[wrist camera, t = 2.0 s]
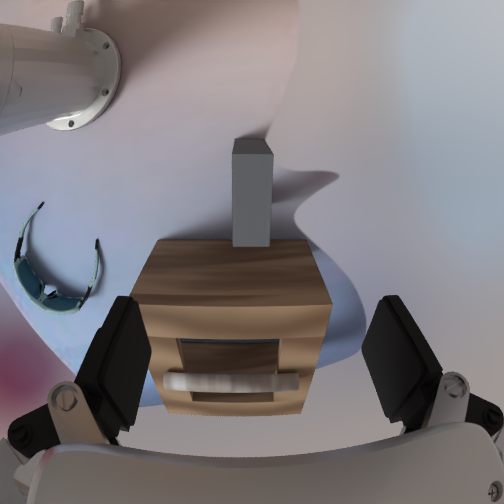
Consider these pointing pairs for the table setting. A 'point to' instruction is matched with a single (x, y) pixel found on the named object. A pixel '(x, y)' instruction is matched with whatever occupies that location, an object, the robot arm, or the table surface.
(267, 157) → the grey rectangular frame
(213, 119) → the table surface
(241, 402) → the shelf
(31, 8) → the table surface
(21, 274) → the sunglasses
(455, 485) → the robot arm
